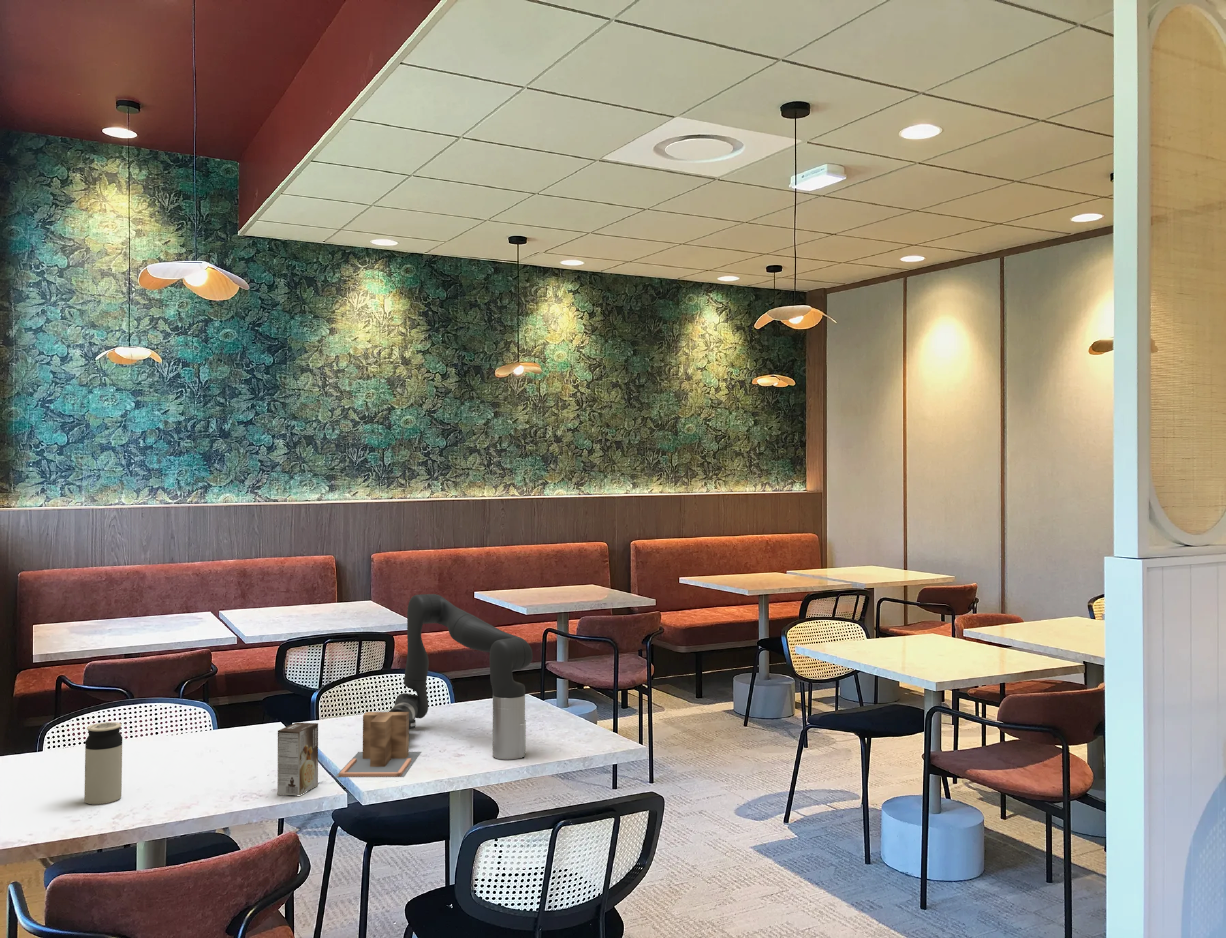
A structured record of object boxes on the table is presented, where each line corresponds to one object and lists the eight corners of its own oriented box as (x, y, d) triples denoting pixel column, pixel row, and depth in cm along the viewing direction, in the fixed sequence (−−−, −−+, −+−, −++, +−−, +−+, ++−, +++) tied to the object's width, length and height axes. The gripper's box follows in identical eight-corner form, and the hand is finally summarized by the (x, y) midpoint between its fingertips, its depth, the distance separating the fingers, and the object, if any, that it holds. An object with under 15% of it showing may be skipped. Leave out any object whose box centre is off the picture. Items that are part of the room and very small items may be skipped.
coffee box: (295, 784, 246) (296, 721, 247) (318, 786, 245) (319, 722, 246) (276, 795, 237) (277, 730, 238) (299, 797, 236) (300, 731, 237)
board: (421, 755, 275) (421, 748, 275) (404, 780, 250) (404, 773, 250) (358, 755, 274) (358, 748, 274) (334, 781, 249) (334, 774, 250)
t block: (408, 754, 271) (409, 712, 272) (399, 766, 259) (400, 721, 260) (366, 754, 271) (366, 712, 272) (355, 766, 259) (355, 721, 260)
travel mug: (127, 794, 238) (128, 721, 238) (111, 805, 230) (112, 729, 230) (94, 795, 237) (95, 721, 238) (77, 805, 230) (79, 729, 230)
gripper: (378, 704, 289) (364, 717, 272) (422, 704, 289) (411, 717, 272) (378, 729, 289) (364, 744, 271) (422, 729, 289) (410, 744, 271)
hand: (387, 731), depth 272 cm, fingers closed
